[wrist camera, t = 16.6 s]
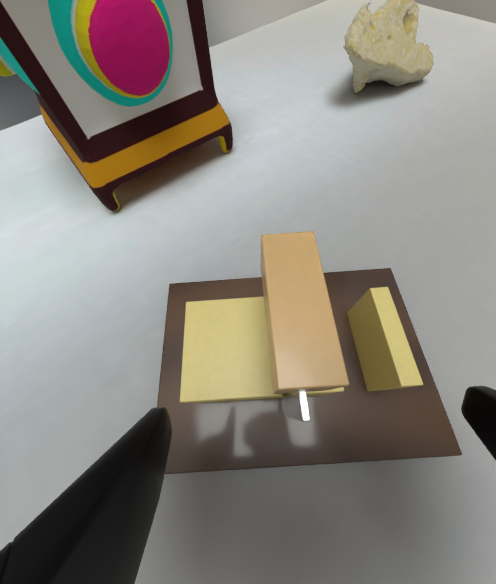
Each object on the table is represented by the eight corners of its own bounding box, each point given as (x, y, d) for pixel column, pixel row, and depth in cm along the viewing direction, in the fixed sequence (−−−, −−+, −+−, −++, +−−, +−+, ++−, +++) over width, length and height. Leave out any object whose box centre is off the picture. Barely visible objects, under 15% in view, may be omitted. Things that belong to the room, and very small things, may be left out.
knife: (304, 414, 14) (359, 423, 7) (269, 416, 14) (281, 428, 7) (287, 296, 18) (309, 212, 10) (258, 298, 18) (259, 216, 10)
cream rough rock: (394, 75, 41) (343, -9, 34) (444, 40, 35) (395, -72, 28) (366, 150, 40) (307, 78, 33) (413, 128, 34) (353, 34, 26)
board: (451, 452, 16) (463, 455, 15) (155, 471, 16) (149, 475, 15) (385, 273, 22) (390, 267, 21) (172, 288, 22) (169, 283, 21)
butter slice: (383, 390, 17) (424, 385, 13) (367, 391, 17) (401, 386, 13) (361, 311, 19) (388, 286, 15) (346, 312, 19) (369, 287, 15)
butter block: (324, 395, 17) (345, 391, 13) (198, 403, 17) (179, 402, 13) (309, 315, 19) (322, 291, 15) (200, 323, 19) (185, 301, 15)
